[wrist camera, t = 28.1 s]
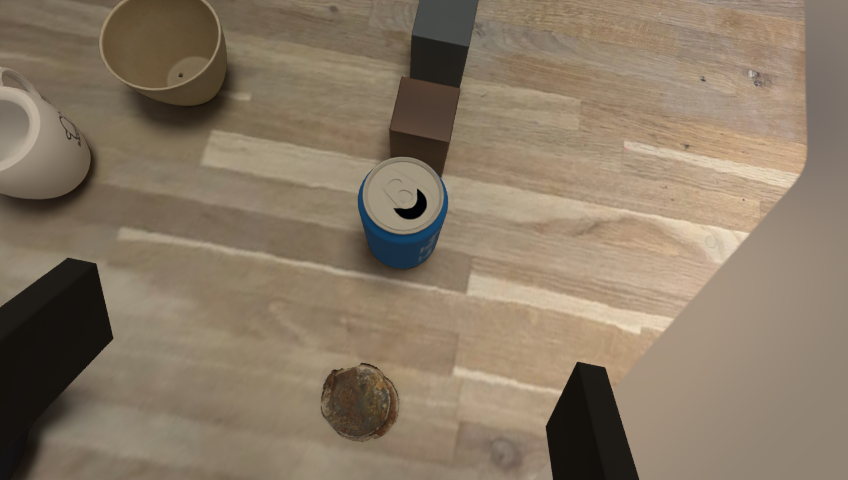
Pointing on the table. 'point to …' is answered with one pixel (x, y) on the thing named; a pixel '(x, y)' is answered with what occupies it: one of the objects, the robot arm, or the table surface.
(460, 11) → the block
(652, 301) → the table surface
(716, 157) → the table surface
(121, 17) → the bowl
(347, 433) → the decorative disc
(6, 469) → the teapot
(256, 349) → the table surface
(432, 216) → the beverage can
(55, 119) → the mug
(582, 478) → the robot arm
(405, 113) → the block
